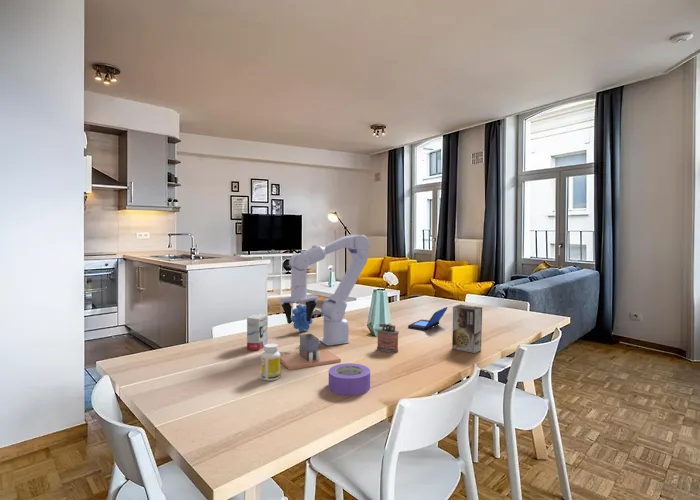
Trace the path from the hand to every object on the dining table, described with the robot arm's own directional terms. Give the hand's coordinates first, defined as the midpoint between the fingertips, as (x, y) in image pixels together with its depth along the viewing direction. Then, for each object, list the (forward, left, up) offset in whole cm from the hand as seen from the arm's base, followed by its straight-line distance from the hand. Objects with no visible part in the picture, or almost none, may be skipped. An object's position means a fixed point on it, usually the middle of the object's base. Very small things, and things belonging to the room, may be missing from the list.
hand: (298, 321), depth 149 cm
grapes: (-9, -19, -10) cm, 23 cm away
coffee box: (-56, +29, -10) cm, 64 cm away
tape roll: (0, +42, -10) cm, 43 cm away
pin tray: (+2, +16, -9) cm, 19 cm away
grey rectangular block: (+2, +16, -8) cm, 18 cm away
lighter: (-28, +18, -10) cm, 35 cm away
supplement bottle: (+18, +26, -10) cm, 33 cm away
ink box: (+14, -6, -10) cm, 18 cm away
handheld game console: (-64, -5, -10) cm, 65 cm away
